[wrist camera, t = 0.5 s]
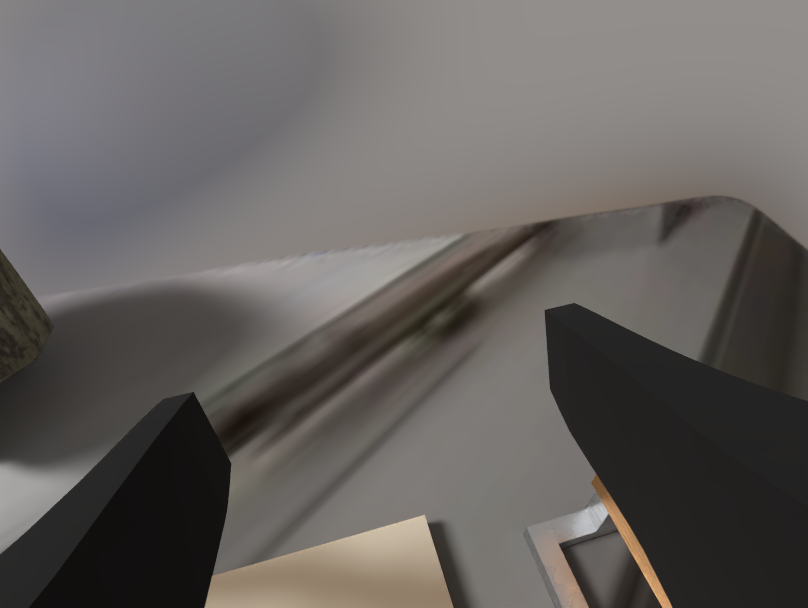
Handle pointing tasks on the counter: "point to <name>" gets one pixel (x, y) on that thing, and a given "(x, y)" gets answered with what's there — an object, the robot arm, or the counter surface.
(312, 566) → the board
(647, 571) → the grey and tan frame
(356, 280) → the counter surface
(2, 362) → the tabletop clock
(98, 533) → the robot arm
